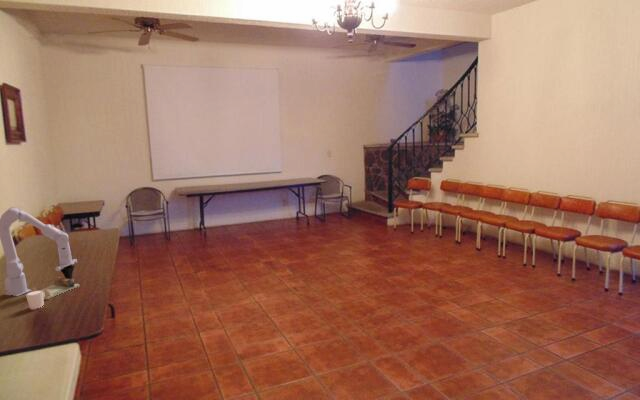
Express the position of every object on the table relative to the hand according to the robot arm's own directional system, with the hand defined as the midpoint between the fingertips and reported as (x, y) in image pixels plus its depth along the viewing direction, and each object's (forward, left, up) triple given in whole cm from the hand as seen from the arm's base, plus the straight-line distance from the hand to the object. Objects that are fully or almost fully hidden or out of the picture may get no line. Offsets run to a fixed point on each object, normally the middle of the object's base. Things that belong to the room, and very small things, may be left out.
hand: (69, 279), depth 237 cm
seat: (+3, -11, -2) cm, 12 cm away
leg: (+4, -6, -1) cm, 7 cm away
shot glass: (+13, -28, -2) cm, 31 cm away
